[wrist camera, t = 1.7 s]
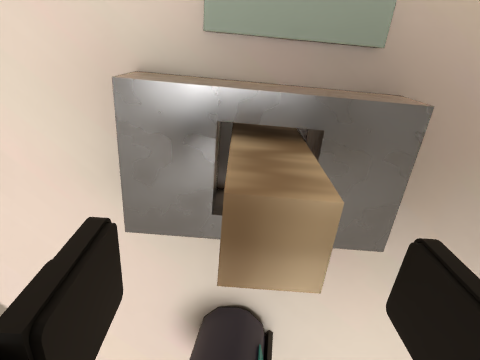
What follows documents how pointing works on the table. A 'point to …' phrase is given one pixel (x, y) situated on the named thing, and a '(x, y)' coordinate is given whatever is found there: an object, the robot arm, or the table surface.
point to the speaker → (232, 337)
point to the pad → (304, 19)
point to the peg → (276, 212)
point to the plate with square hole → (261, 113)
